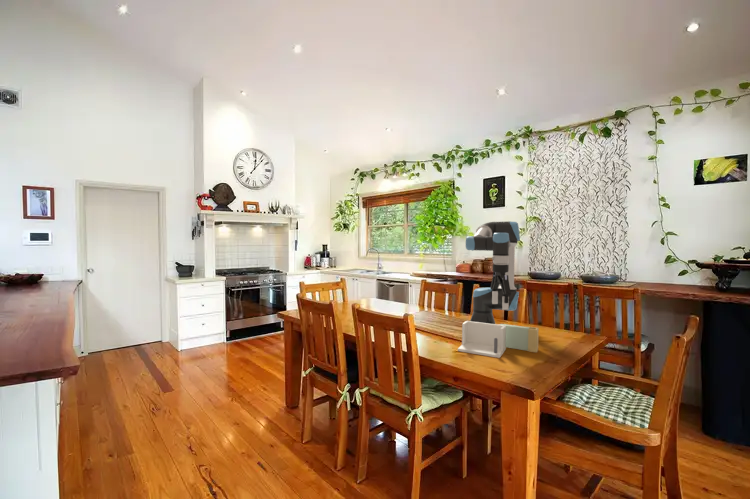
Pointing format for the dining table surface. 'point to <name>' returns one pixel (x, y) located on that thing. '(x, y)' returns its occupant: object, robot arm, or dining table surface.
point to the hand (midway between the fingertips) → (499, 306)
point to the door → (522, 337)
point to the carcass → (483, 339)
